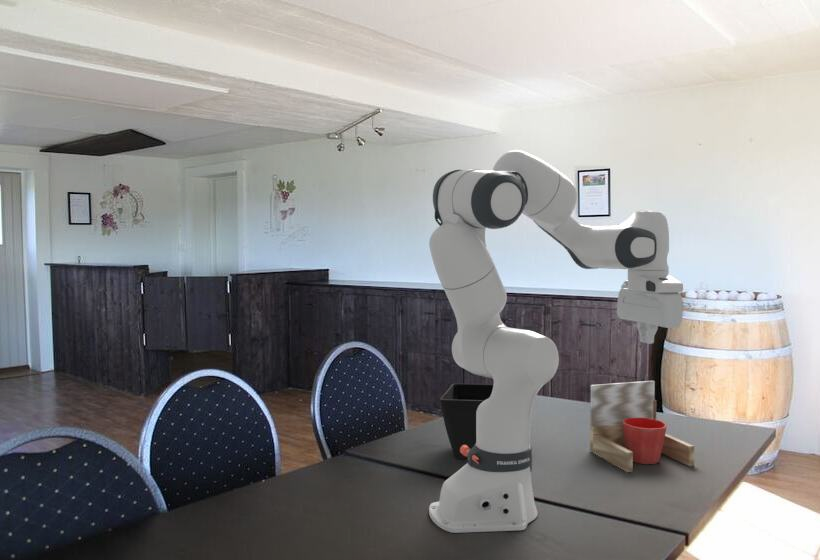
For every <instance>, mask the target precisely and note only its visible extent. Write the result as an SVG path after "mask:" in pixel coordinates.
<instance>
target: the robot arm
mask: <svg viewBox="0 0 820 560" xmlns="http://www.w3.org/2000/svg"><path fill="white" fill-rule="evenodd" d="M577 196H578V194H577V188H576V186H575V185H574V184H573V182H572V181H571V179H569V177H567V176H566V175H565V174H563V173H562V172H560V170H558V169H557V168H556V167H554V166H552V165H551V164H549V163H548V162H546V161H545V160H543V159H541V158H539V157H537V156H535V155H533V154H530V153H528V152H526V151H523V150H519V149H514V150H510V151H507V152H506V153H503V155H501V156H500V157H499V158H498V159H497V161H496V162H495V164H494V166H493V168H492V169H491V170H485V169H480V168H471V169H470V168H469V169H455V170H452V171H448V172H446V173H445V174H443V175H442V176H440V177H439V179H437V180H436V182H435V185H434V186H433V189H432V203H433V204H432V205H433V208H434V220H435V222H436V223H437V225H438V227H437V228H436V229H434V231H433V232H432V233H431V235H430V238H429V243H428V244H429V251H430V255H431V258H432V262H433V265H434V268H435V271H436V272H435V273H436V274H437V277H438V279H439V282H440V285H441V287H442V289H443V290H444V292H445V295H446V297H447V299H448V302H449V303H450V307H451V309H452V311H453V314H454V316H455V320H456V324H457V325H456V326H457V332H456V333H455V335H454V337H453V340H452V342H451V355H452V358H453V361H454V362H455V363H456V365H458V367H460V368H462V369H464V370H466V371H467V372H469V373H471V374H473V375H476V376H481V377H485V378H489V379H493V384H492V385H493V390H492V393H491V396H490V398H488V399H486V400H485V401H483V402H482V403H481V404H480V405H479V406H478V408H477V411H476V444H475V445H474V447H473V448H472V449H470V448H469V447H468V446H467V445H462V446H461V448H460V452H461V454H463V455H464V456H466V457H467V456H468V460H467V463H466V464H464V465H463V466H462V467H461V468H460V469H457V471H456V472H455V473H453V474H452V475H451V476H450V477H448V478H447V479H446V480H445V481H443V484H442V486H441V489H440V494H439V499H438V500H439V501H435V502H431V503H430V505H429V507H428V515H429V517H430V519H431V520H432V522H433V523H434V524H435V525H436V526H437V527H438V528H441V529H442V530H443V531H446V532H449V533H452V534H453V533H455V534H458V533H460V534H461V533H462V534H463V533H482V532H483V533H485V532H486V533H487V532H488V533H489V532H507V531H508V532H510V531H513V532H515V531H524V530H526V529H527V527H528V524H529V523H531V522H533V521H534V520H536V519H537V517H538V509H537V506H536V502H535V498H534V492H533V486H532V475H531V473H532V470H533V451H532V450H533V449H532V447H533V446H532V445H531V439H530V438H531V417H532V416H531V415H532V408H533V405H534V402H535V399H536V396H537V395H538V393H539V391H540V390H541V389H542V387H543V386H544V385H546V384H548V382H550V381H551V380H552V379H553V378H554V377H555V374H556V373H557V371H558V369H559V368H558V367H559V363H560V356H559V355H560V354H559V351H558V348H557V345H556V344H555V342H554V341H553V340H552V339H551V338H549V337H548V336H546V335H543V334H540V333H538V332H536V331H533V330H529V329H523V328H522V329H521V328H514V327H508V326H507V325H506V324H504V322H503V321H502V319H501V314H500V313H501V312H502V311H503V310H504V308H505V306H506V303H507V299H508V296H507V295H508V294H507V291H506V289H505V288H506V287H505V286H504V283H503V282H502V279H501V276H500V275H499V272H498V270H497V267H496V264H495V263H494V261H493V258H492V257H491V254H490V253H489V252H490V251H489V250H488V248H487V243H486V230H487V229H490V230H491V229H492V230H497V229H503V228H507V227H509V226H511V225H513V224H514V223H515V222H517V221H518V219H519V217H520V216H522V215H524V216H526V217H527V218H528V219H531V220H532V221H533V222H534V223H535V225H537V227H538V228H540V229H541V230H542V231H543V232H544V233H546V234H547V235H548V236H550V237H551V238H552V239H553V240H555V241H556V242H557V243H558V244H560V245H561V246H562V247H563V248H564V249H565V250H566V251H567V252H568V254H569V256H570V257H571V259H572V260H573V262H574V263H575V264H576V265H577V266H578V267H580V268H581V269H585V270H595V269H609V270H610V269H611V270H612V269H613V270H617V269H619V270H627V280H624V282H623V283H622V285H621V286H620V289H619V292H618V294H617V295H618V296H617V306H616V314H617V317H618V318H619V319H620V320H627V321H632V322H636V329H637V331H638V334H639V342H641V343H645V344H649V345H650V344H654V342H655V335H656V333H657V331H658V329H659V328H658V327H661V328H666V329H667V328H668V329H669V328H670V329H671V328H672V329H673V328H675V329H676V328H679V327H680V326H681V324H682V323H683V311H684V310H683V307H684V306H683V297H682V295H681V294H680V293H682V292H683V291H684V284H683V282H681V281H680V280H677V278H675V277H673V276H672V275H670V274H669V269H670V268H669V265H668V255H669V251H670V233H669V232H670V231H669V224H668V219H667V217H666V215H664V214H663V213H662V212H659V211H655V210H635V211H633V212H631V215H630V217H629V218H628V219H627V220H625V221H623V222H622V223H619V224H618V225H602V226H601V225H598V226H597V225H584V224H581V223H579V222H578V221H577V220H576V219H575V218H574V217H572V216H571V215H572V214H573V212H574V211H575V208H576V205H577V199H578V197H577ZM486 228H487V229H486Z"/></svg>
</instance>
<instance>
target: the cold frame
mask: <svg viewBox="0 0 820 560" xmlns="http://www.w3.org/2000/svg"><path fill="white" fill-rule="evenodd" d="M655 384H656V381H655V380H644V381H629V382H628V381H627V382H615V383H602V384H590V422H589V423H590V426H589V427H590V429H589V431H590V433H589V439H590V441H589V447H590V448H589V452H590V451H592V452H593V453H592V452H591V453H592V454H594V453H595V454H596V455H595V454H594V455H595V456H597V455H598V456H597V457H599V456H600V457H599V458H601V457H602V458H604V459H605V460H604V459H603V460H604V461H606V460H607V461H606V462H608V463H609V462H610V463H609V464H611V463H612V464H611V465H613V466H614V465H615V467H616V466H617V467H616V468H618V467H619V468H618V469H620V468H621V469H622V471H623V470H624V471H623V472H625V471H626V472H625V473H627V472H631V473H634V471H633V468H634V466H633V464H634V463H633V452H632V451H630V450H628V449H626V444H625V436H624V429H623V420H625V419H628V418H649V419H655V420H657V402H658V401H657V400H656V399H655V390H656V389H655V388H656V387H655V386H656V385H655ZM661 454H663V455H666V456H667V457H669V458H671V459H673V460H676V461H677V462H679V463H682V464H683V465H686V466H688V467H693V466H694V467H695V445H693V444H691V443H688V442H686V441H684V440H682V439H680V438H677V437H675V436H673V435H670V434H668V433H667V432H666V433H665V438H664V443H663V448H662V452H661ZM602 458H601V459H602ZM621 469H620V470H621Z"/></svg>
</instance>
